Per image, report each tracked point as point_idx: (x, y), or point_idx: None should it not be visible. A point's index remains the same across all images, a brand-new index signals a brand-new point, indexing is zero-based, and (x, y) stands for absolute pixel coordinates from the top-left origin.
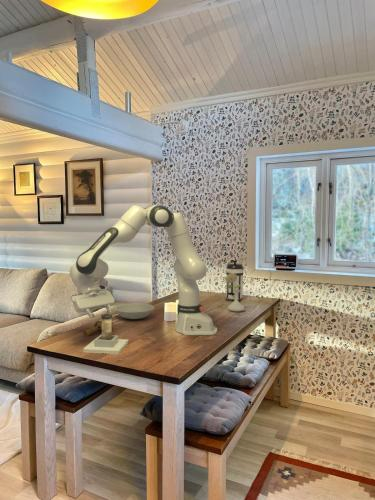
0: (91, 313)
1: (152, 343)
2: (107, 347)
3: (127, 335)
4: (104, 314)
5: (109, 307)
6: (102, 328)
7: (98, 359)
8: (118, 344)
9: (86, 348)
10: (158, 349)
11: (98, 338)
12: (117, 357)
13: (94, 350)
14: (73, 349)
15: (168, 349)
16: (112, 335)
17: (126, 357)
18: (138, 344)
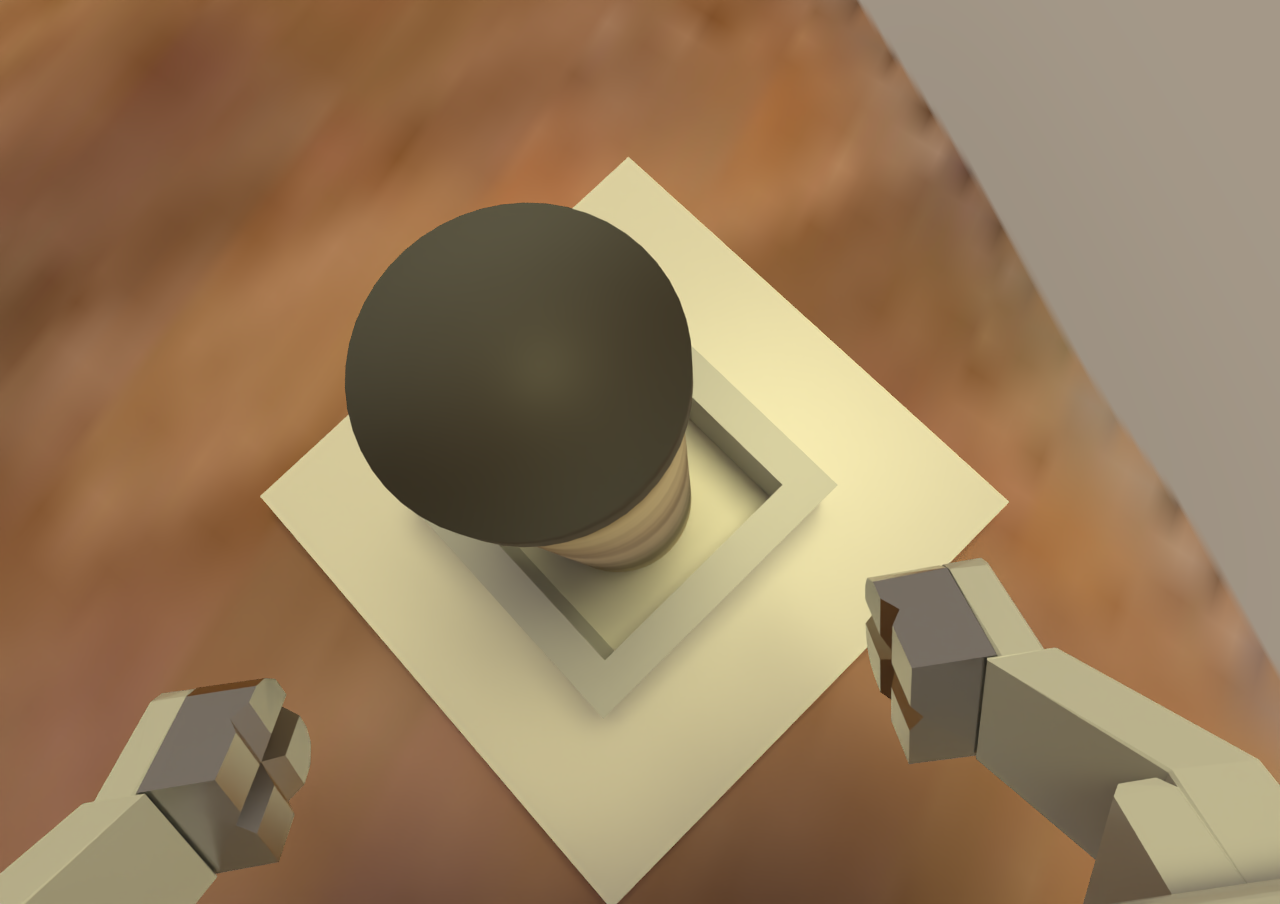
0: (991, 653)
1: (73, 290)
2: None
3: None
4: (516, 514)
5: (14, 895)
6: (685, 438)
7: (910, 164)
8: None
9: (952, 496)
10: (167, 73)
11: (740, 528)
12: (689, 102)
13: (870, 383)
14: None
15: (86, 15)
16: (467, 538)
17: (604, 49)
18: (227, 359)
